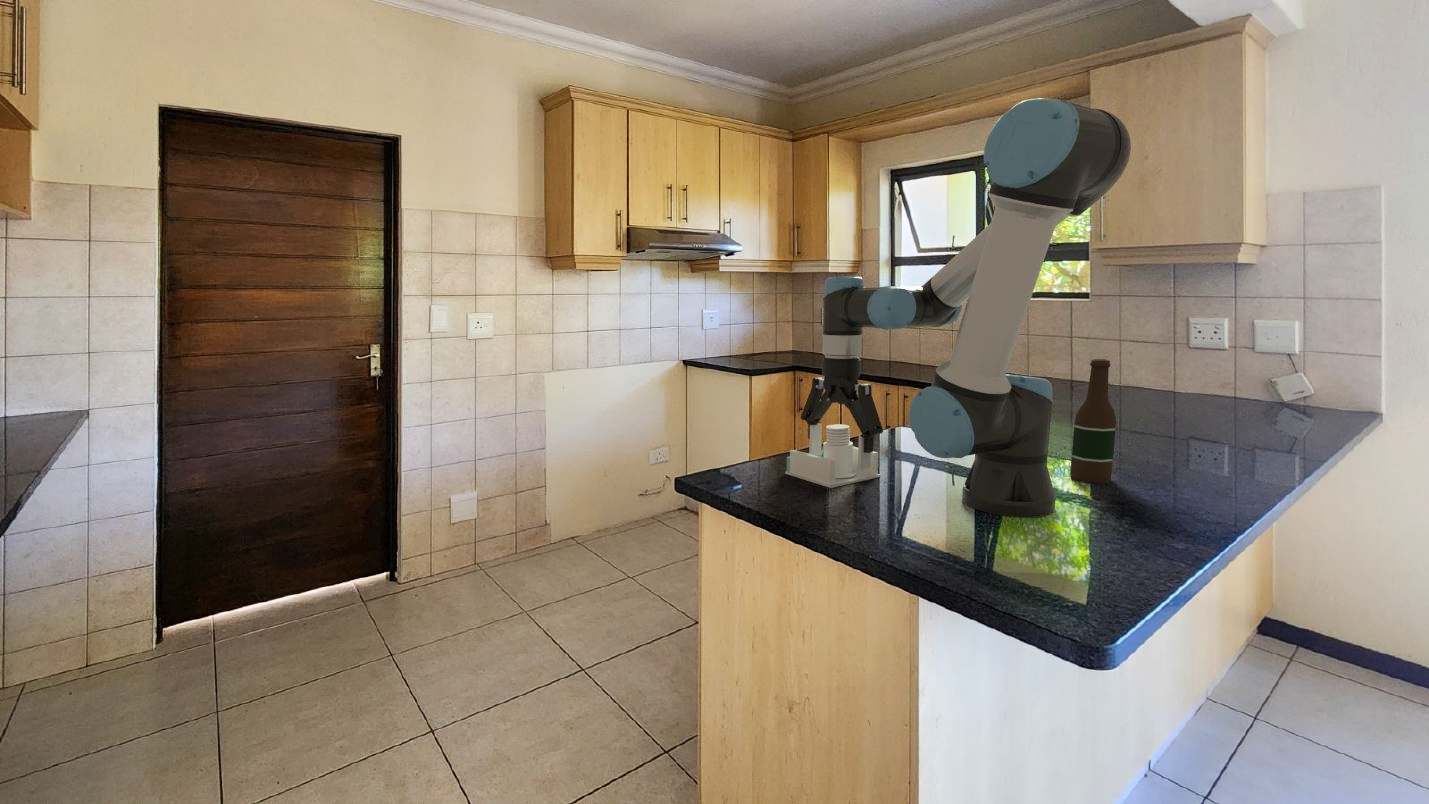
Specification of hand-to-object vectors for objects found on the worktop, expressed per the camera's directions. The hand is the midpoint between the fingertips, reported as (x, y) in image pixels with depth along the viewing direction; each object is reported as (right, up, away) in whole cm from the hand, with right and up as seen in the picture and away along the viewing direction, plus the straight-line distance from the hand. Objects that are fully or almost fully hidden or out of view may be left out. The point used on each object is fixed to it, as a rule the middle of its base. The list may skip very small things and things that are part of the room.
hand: (838, 462), depth 142 cm
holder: (-1, -3, +2) cm, 3 cm away
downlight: (0, -3, 0) cm, 3 cm away
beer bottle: (+50, -4, -1) cm, 50 cm away
